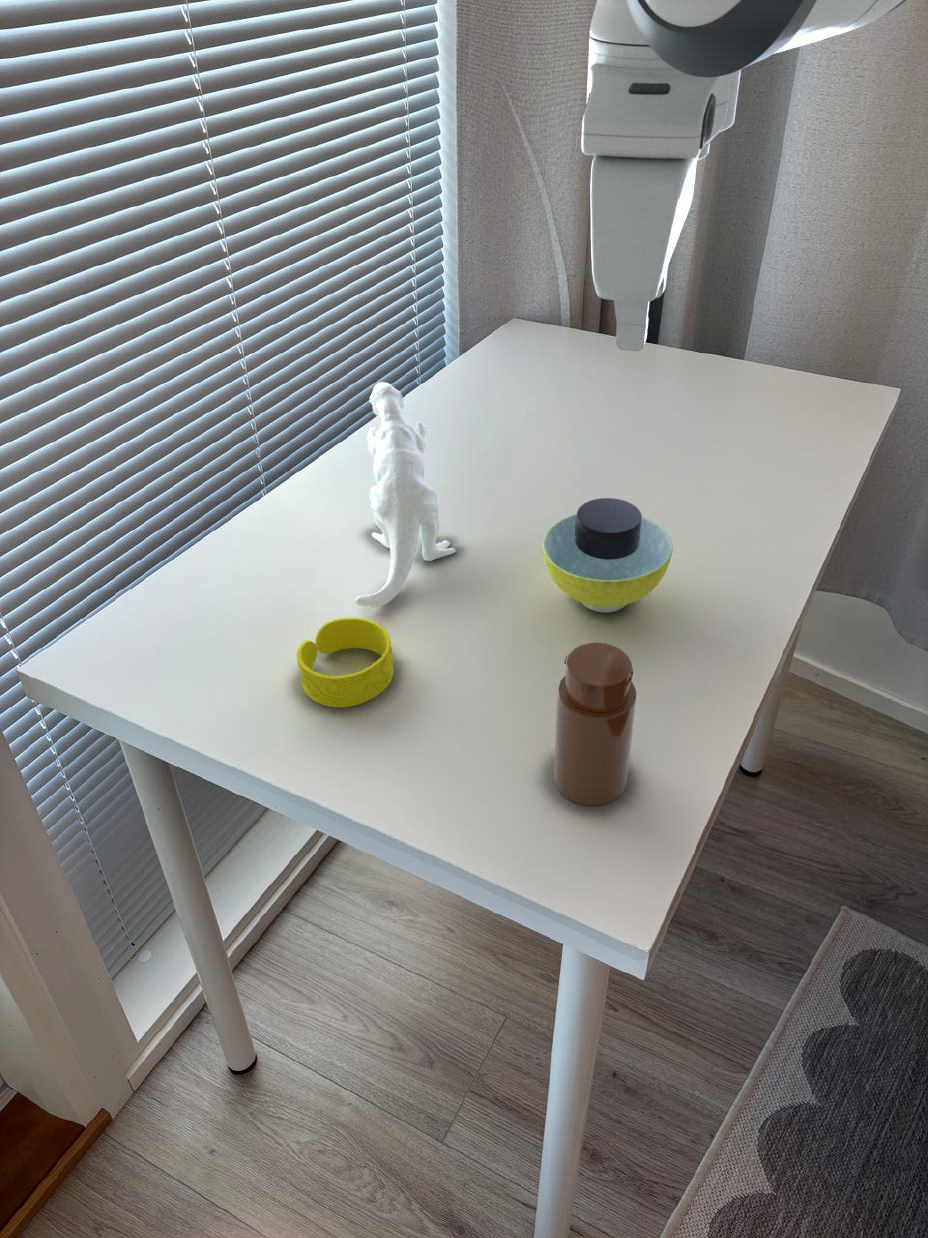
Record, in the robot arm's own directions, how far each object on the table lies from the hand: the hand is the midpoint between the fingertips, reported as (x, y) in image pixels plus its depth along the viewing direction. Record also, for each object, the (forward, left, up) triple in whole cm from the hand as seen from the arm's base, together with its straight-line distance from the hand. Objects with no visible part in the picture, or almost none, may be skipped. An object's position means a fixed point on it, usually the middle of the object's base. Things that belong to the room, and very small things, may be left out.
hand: (641, 318), depth 65 cm
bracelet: (+21, +10, -29) cm, 37 cm away
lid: (+2, -6, -23) cm, 24 cm away
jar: (-1, +16, -29) cm, 33 cm away
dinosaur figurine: (+22, -7, -29) cm, 37 cm away
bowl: (+2, -6, -29) cm, 30 cm away
